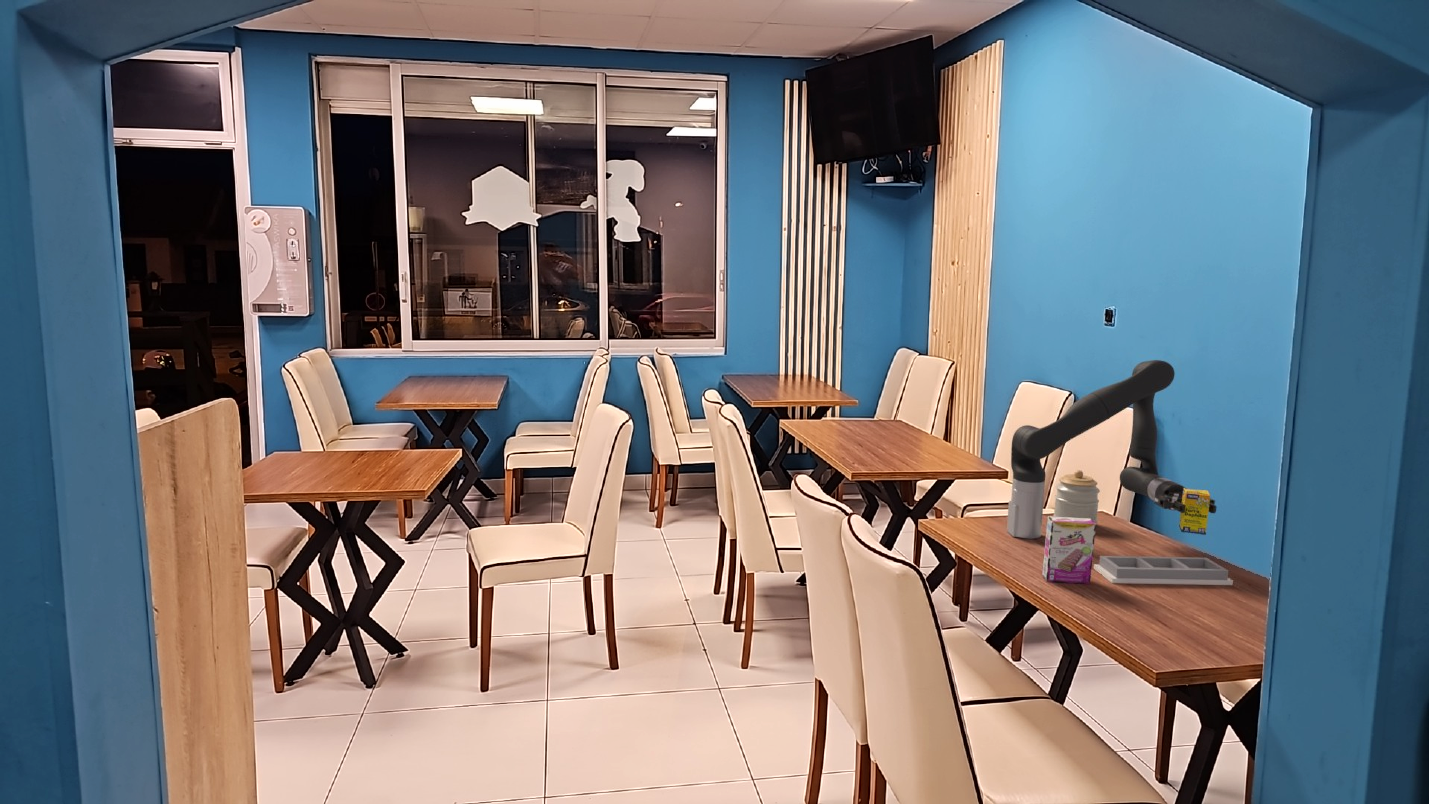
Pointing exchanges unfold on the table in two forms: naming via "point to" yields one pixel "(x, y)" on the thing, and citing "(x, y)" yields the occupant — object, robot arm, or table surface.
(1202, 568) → the rack
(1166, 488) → the robot arm
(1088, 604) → the table surface
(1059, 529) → the candy bar box
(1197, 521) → the supplement box
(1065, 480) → the jar
